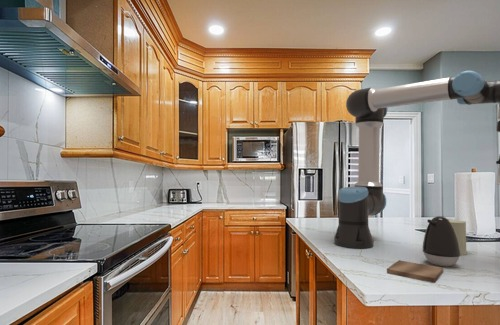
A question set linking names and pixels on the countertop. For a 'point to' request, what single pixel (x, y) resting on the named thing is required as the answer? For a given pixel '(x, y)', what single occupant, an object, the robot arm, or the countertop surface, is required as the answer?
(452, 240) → the pump dispenser
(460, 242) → the can
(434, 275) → the walnut board
